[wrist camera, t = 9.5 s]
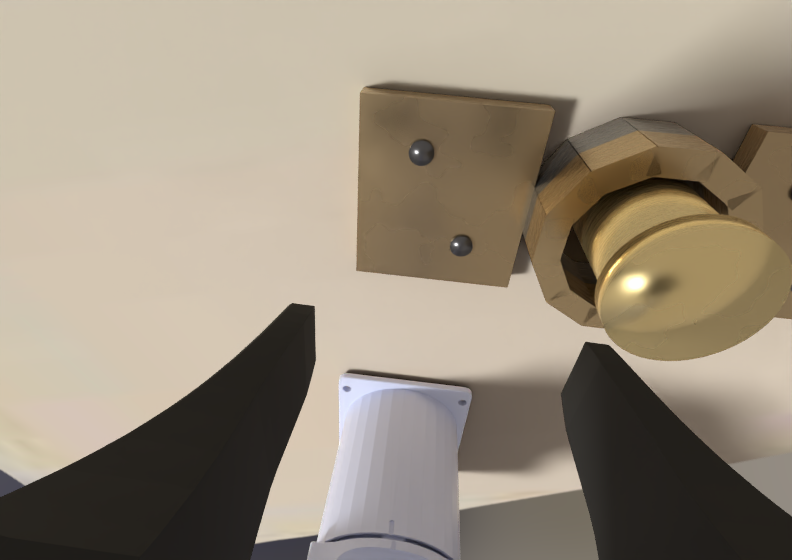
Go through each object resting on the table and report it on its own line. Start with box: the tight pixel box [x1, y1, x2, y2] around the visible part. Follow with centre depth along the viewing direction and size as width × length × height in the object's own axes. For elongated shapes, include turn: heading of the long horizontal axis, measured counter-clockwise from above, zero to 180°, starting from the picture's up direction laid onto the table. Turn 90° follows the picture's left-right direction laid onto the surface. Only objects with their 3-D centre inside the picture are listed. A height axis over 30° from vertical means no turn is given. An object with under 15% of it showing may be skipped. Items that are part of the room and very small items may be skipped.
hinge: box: [356, 87, 792, 328], centre depth 17 cm, size 8×22×4 cm, turn 86°
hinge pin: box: [572, 177, 792, 361], centre depth 16 cm, size 5×5×7 cm
